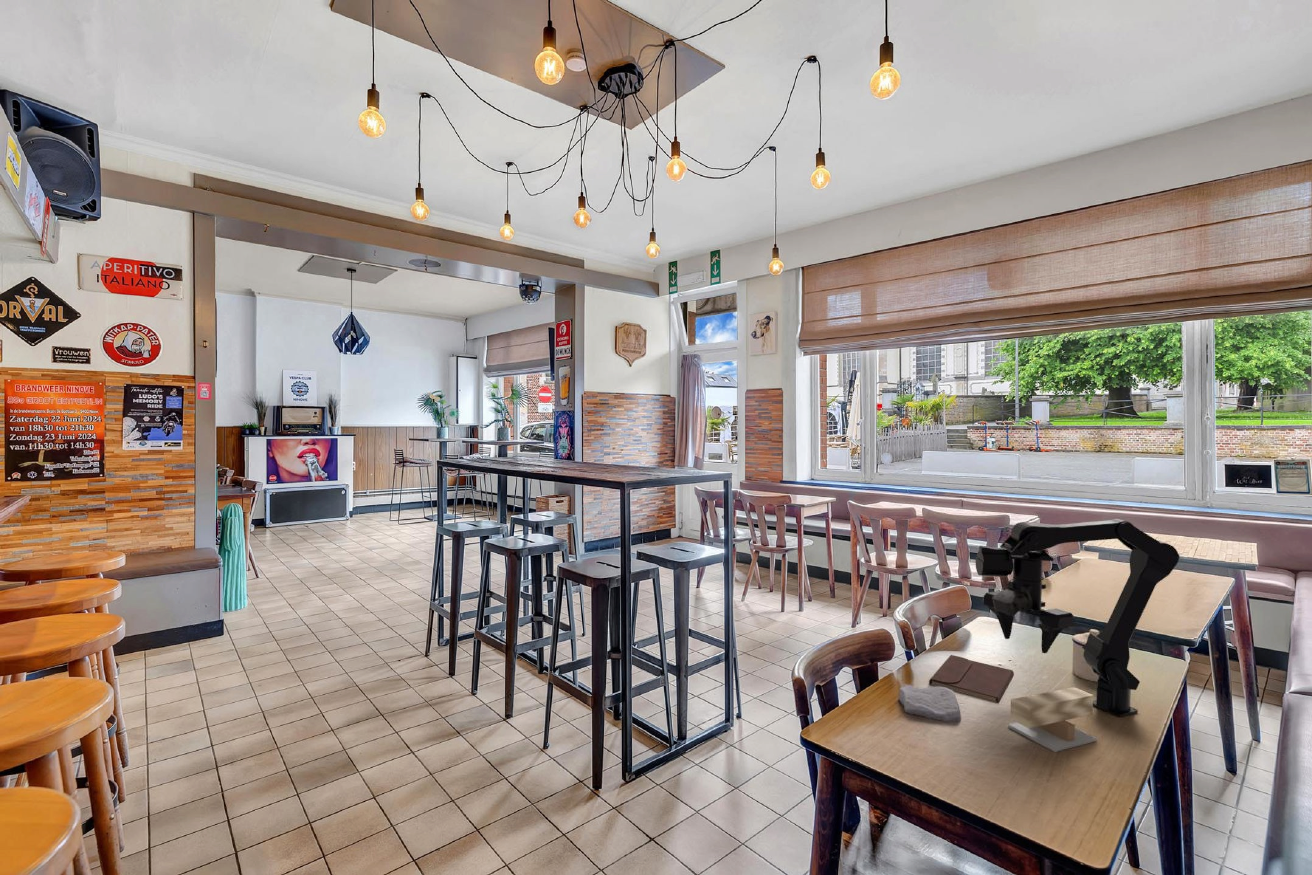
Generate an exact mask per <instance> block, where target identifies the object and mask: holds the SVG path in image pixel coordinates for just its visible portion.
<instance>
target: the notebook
mask: <svg viewBox="0 0 1312 875" xmlns="http://www.w3.org/2000/svg"><path fill="white" fill-rule="evenodd" d="M1014 675H1015V672H1014V671H1013V670H1012V669H1009V668H1005V667H1000V666H997V665H992V664H987V663H983V662H979V661H975V660H970V659H968V658H965V657H962V656H958V655H954V654H950V655H949V656H948V657H947V658H946V660H945V661H944V663H942V664H941V666H940V667H939V668H938V669H937V670H936V672H934V673H933V675H932V676H931V677H930V679H929V680H928V684H929V685H933V686H935V687H946V688H948V689H950V690H952V691H953V692H958V693H963V694H966V695H970V696H973V697H976V698H980V699H983V700H988V701H992V702H997V703H998V704H999V703H1000V701H1001V699H1002V698H1003V695H1004V694H1005V691H1006V690H1007V688H1008V686H1009V684H1010V682H1011V680H1012V679H1013V676H1014Z"/></svg>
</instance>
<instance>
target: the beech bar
mask: <svg viewBox="0 0 1312 875" xmlns="http://www.w3.org/2000/svg"><path fill="white" fill-rule="evenodd" d="M1093 701H1094V694H1091V693H1088V692H1087V691H1084V690H1083V689H1079V688H1078V687H1075V686H1073V687H1072V686H1071V687H1068V688H1062V689H1056V690H1051V691H1047V692H1042V693H1037V694H1031V695H1027V696H1021V697H1015V698H1011V699H1010V714H1009V715H1010V717H1009V718H1010V720H1012V721H1014V723H1016V722H1017V723H1019V724H1021V725H1023V726H1025V727H1027V728H1032V727H1037V726H1041V725H1046V724H1051V723H1055V722H1060V721H1064V720H1065V721H1068V720H1072V719H1073V720H1074V719H1077V718H1082V717H1086V716H1092V715H1093V713H1094V712H1093V711H1094V710H1093V709H1094V706H1093Z"/></svg>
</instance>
